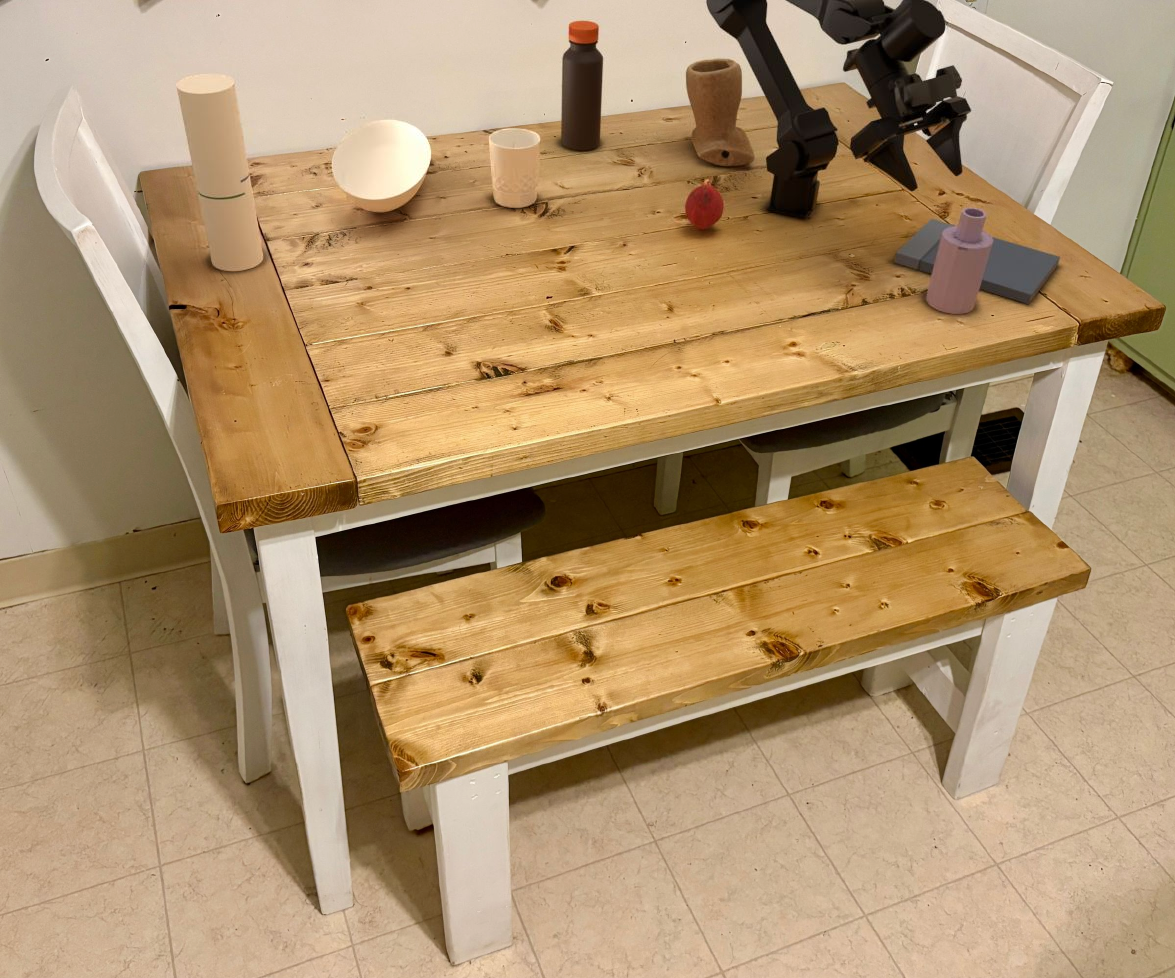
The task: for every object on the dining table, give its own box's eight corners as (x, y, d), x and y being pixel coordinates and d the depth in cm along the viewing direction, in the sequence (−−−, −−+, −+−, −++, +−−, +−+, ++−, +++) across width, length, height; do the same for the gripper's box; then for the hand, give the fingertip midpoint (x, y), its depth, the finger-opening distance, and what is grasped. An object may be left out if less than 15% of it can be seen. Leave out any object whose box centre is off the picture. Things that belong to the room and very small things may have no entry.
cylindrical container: (272, 252, 162) (245, 78, 146) (245, 275, 157) (213, 96, 141) (229, 243, 164) (197, 70, 148) (201, 265, 158) (164, 88, 142)
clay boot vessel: (677, 133, 201) (684, 48, 191) (743, 135, 201) (754, 50, 191) (683, 169, 189) (692, 79, 179) (754, 170, 189) (766, 81, 180)
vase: (921, 307, 156) (944, 217, 147) (930, 286, 161) (953, 197, 152) (969, 318, 154) (996, 228, 145) (977, 296, 159) (1003, 208, 150)
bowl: (428, 237, 167) (426, 199, 163) (326, 237, 166) (321, 199, 162) (436, 155, 190) (434, 119, 186) (346, 154, 189) (342, 119, 185)
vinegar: (586, 154, 192) (589, 34, 179) (553, 145, 195) (554, 26, 182) (607, 142, 197) (612, 24, 184) (575, 132, 199) (577, 15, 187)
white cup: (481, 204, 176) (479, 142, 170) (503, 184, 182) (502, 124, 176) (527, 214, 174) (527, 152, 168) (548, 194, 180) (548, 133, 173)
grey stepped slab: (894, 262, 166) (896, 252, 165) (928, 228, 175) (931, 218, 174) (1028, 304, 157) (1031, 294, 156) (1057, 266, 167) (1060, 255, 166)
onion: (718, 240, 169) (724, 190, 164) (680, 235, 170) (685, 186, 165) (722, 223, 174) (728, 174, 169) (685, 219, 175) (690, 170, 169)
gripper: (878, 59, 143) (931, 168, 143) (973, 35, 152) (1024, 137, 151) (826, 106, 153) (876, 208, 152) (918, 81, 162) (966, 177, 161)
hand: (937, 182), depth 154 cm, fingers open, 9 cm apart
